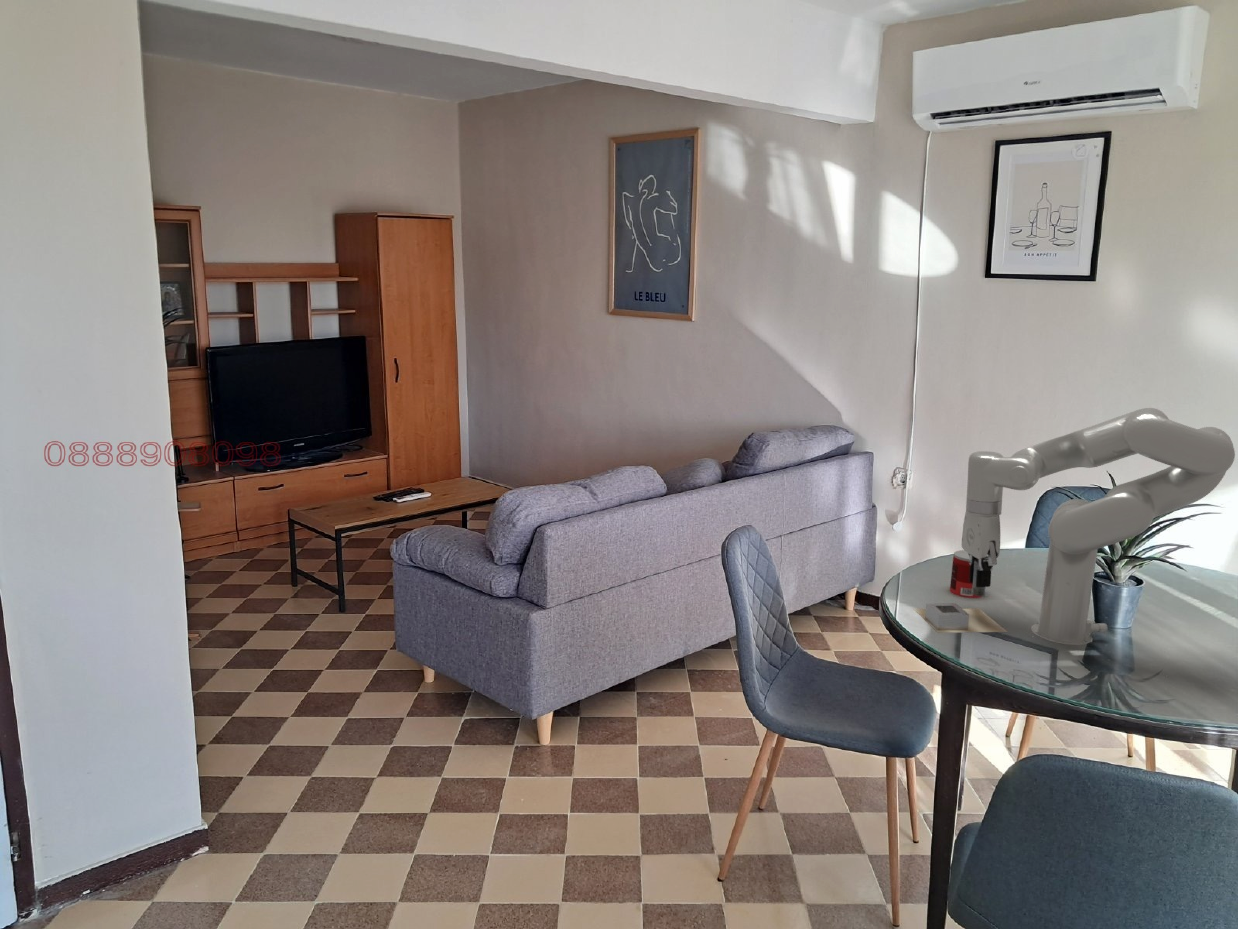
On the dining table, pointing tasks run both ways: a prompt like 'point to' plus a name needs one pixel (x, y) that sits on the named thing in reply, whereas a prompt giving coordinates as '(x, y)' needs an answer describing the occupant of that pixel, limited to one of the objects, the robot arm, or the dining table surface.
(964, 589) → the canned food
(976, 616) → the board
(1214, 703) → the dining table surface
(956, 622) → the collar
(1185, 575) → the dining table surface
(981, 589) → the pin
